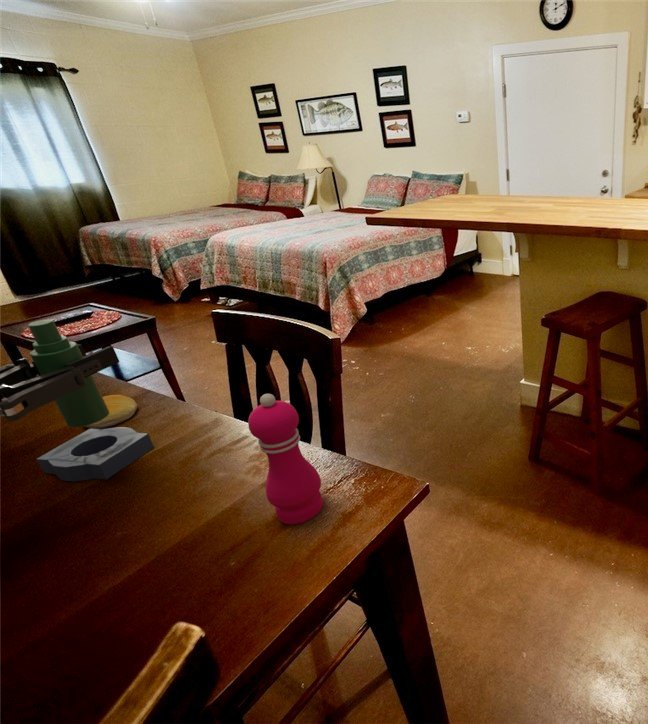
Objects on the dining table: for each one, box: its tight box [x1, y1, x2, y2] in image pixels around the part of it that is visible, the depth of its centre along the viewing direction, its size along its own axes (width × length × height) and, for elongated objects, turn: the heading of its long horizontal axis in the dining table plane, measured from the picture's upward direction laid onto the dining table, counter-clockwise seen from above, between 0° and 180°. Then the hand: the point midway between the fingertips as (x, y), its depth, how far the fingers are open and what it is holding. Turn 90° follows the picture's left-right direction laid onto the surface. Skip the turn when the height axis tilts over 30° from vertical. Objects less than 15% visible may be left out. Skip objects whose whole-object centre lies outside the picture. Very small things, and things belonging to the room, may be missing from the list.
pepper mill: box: [247, 393, 324, 525], centre depth 67 cm, size 7×7×20 cm
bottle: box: [27, 319, 109, 428], centre depth 70 cm, size 5×5×16 cm
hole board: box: [36, 426, 155, 483], centre depth 82 cm, size 12×11×3 cm
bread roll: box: [82, 394, 138, 429], centre depth 94 cm, size 8×9×4 cm
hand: (98, 353), depth 74 cm, fingers closed on bottle, 5 cm apart
